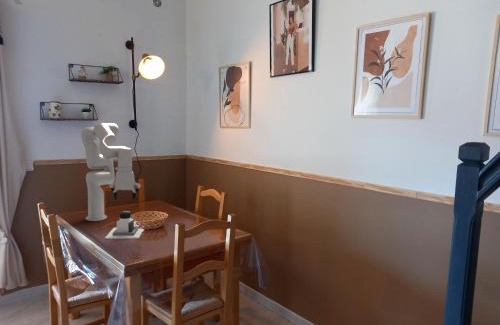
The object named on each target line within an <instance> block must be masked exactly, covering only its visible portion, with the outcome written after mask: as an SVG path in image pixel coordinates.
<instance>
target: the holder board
mask: <svg viewBox="0 0 500 325" xmlns="http://www.w3.org/2000/svg"><path fill="white" fill-rule="evenodd" d="M138 227H139V226H134V231H132V232H121V233H117V227H113V228H112V229H110V231H109V232H108V233H107V234H106V236H105V237H104V239H105V240H125V239H126V240H128V239H129V240H136V239H138V240H139V239H140V238H141V236H142V234H143V233H144V231H145V229H138ZM142 232H143V233H142Z"/></svg>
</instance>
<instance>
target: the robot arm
mask: <svg viewBox="0 0 500 325" xmlns="http://www.w3.org/2000/svg"><path fill="white" fill-rule="evenodd" d="M119 132H120V128H119V126H118V125H117V124H116V123H114V122H99V123H95V125H94V126H87V127H84V128H82V130H81V132H80V137H81V142H82V144H83V148H84V151H85V159H86V160H85V161H86V165H87V167H88V169H90V170H91V171H89V172H87V173H86V176H85V182H86V186H87V210H88V211H87V212H88V215H87V216H86V217H85V220H86V221H87V222H88V221H89V222H98V221H99V222H100V221H104V220H106V219H107V218H108V216H107V214H105V192H104V190H103V188H102V187H101V186H103V185H106V186H107V185H108V186H109V188H110V190H111V191H112V193H113V197H114V200H116V201H117V200H118V198H119V193H118V191H132V200H133V201H134V200H136V198H137V192H138V191H139V190H140V188H141V187H142V185H141V184H140V183H138V182H136V181H135V174H134V171H133V149H132V148H131V147H127V146H125V145H124V146H123V145H118V146H117V145H114V144H115V142H116V140H117V136H119V134H120V133H119ZM96 141H99V143H97V142H96ZM113 145H114V146H113ZM115 160H117V167H115V168H114V161H115ZM98 169H99V170H98ZM100 169H102V170H100ZM103 169H104V170H103ZM92 170H93V171H92ZM115 170H116V172H115ZM135 186H136V188H135Z"/></svg>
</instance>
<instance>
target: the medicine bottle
mask: <svg viewBox="0 0 500 325" xmlns="http://www.w3.org/2000/svg"><path fill="white" fill-rule="evenodd" d="M134 221H135V220H134V218H132V212H131V211H127V210H124V211H120V212H119V220H117V221H116V228H117V233H121V232H132V231H134V227H135V226H134V225H135V222H134Z"/></svg>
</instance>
